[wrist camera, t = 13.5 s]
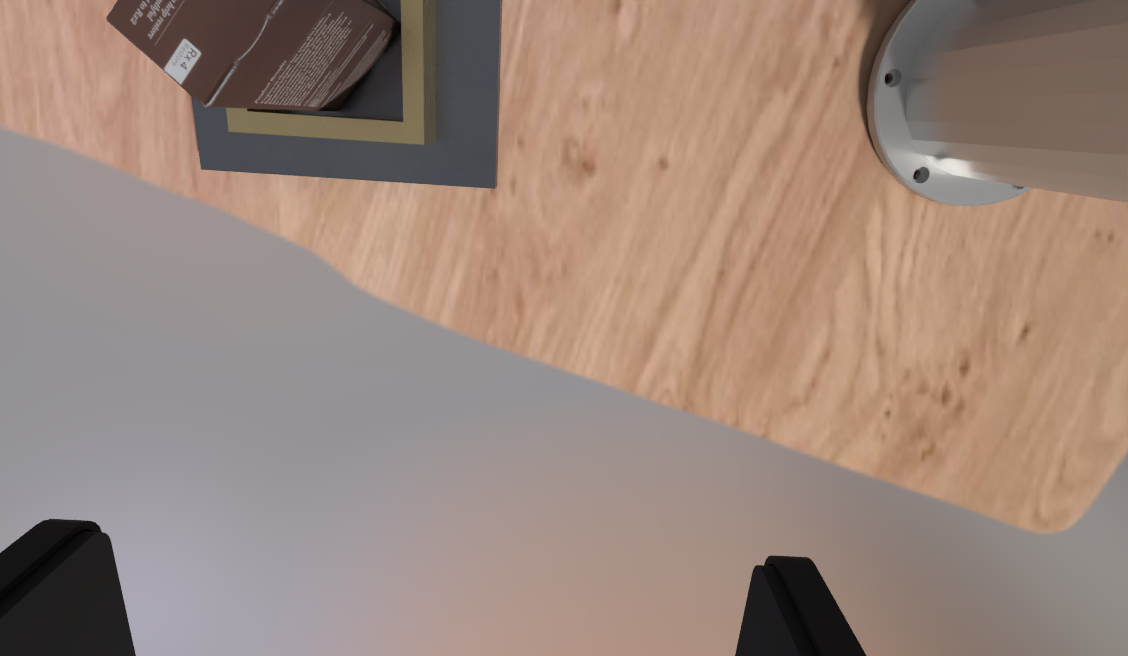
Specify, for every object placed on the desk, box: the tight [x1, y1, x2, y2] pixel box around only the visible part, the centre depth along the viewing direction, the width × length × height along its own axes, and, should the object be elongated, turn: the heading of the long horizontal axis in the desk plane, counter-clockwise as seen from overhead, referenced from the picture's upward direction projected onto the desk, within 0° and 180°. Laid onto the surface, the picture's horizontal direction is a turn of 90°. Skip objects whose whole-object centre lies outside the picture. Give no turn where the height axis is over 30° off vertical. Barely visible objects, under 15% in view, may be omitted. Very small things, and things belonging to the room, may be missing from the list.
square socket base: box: [192, 0, 502, 189], centre depth 30 cm, size 16×14×4 cm
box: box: [107, 0, 401, 111], centre depth 26 cm, size 6×4×12 cm
